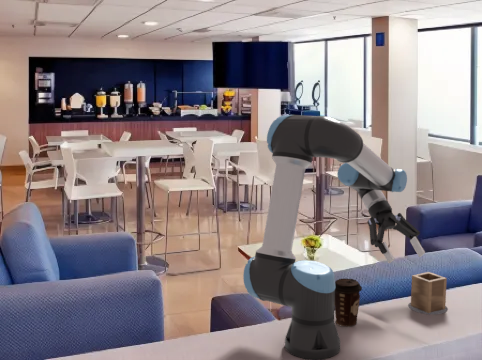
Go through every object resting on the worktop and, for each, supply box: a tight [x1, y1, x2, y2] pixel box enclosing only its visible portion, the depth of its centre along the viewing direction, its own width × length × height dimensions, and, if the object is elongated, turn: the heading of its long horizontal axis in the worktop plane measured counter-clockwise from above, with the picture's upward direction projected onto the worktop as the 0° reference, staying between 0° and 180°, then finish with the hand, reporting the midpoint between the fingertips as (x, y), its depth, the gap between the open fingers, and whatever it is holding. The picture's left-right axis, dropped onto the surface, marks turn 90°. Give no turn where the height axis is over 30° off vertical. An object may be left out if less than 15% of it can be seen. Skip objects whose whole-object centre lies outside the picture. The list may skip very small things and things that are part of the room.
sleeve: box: [410, 271, 448, 313], centre depth 189 cm, size 7×7×10 cm
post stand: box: [407, 302, 449, 315], centre depth 189 cm, size 12×12×9 cm
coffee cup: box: [334, 278, 363, 327], centre depth 181 cm, size 9×8×13 cm
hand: (407, 258), depth 197 cm, fingers open, 13 cm apart
